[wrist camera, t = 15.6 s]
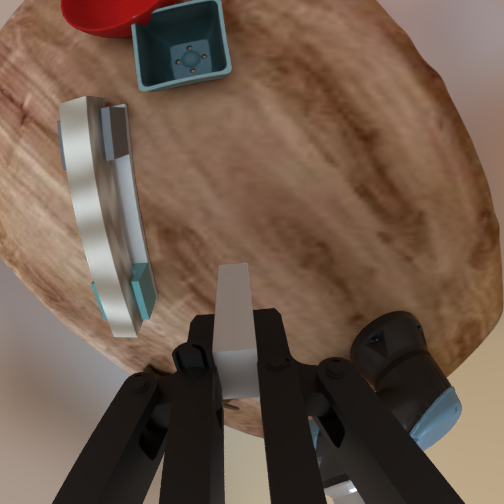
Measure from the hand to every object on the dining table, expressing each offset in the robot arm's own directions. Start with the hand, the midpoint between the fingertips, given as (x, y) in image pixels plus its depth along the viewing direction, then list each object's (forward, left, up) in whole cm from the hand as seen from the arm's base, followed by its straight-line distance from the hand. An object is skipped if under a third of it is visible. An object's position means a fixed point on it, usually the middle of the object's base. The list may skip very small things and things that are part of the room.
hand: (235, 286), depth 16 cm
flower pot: (+17, +4, -23) cm, 29 cm away
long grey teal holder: (-1, +16, -23) cm, 28 cm away
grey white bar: (-1, +16, -20) cm, 25 cm away
